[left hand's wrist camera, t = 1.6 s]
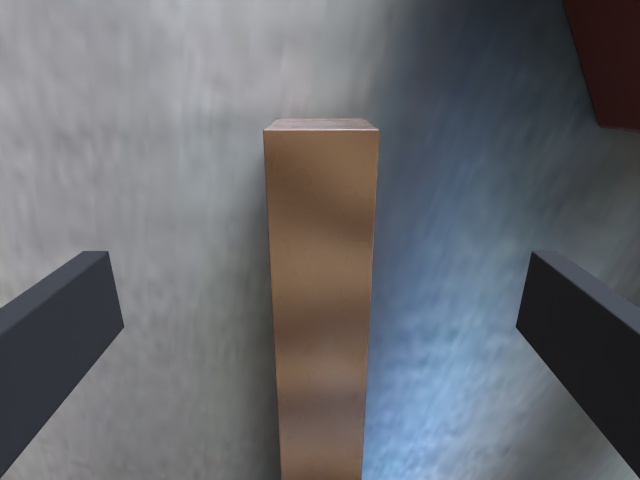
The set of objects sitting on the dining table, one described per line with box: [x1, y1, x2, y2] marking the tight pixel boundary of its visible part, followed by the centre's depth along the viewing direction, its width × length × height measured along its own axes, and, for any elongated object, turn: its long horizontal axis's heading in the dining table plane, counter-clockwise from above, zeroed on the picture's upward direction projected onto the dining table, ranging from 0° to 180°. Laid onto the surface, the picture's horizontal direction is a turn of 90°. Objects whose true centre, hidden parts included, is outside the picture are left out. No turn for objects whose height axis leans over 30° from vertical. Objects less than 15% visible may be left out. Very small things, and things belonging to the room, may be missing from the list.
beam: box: [263, 118, 379, 480], centre depth 31 cm, size 50×6×7 cm, turn 0°
